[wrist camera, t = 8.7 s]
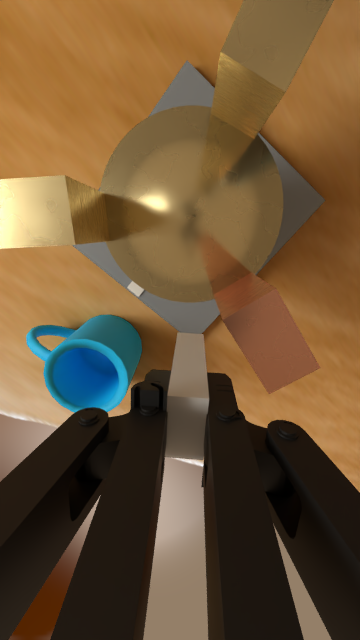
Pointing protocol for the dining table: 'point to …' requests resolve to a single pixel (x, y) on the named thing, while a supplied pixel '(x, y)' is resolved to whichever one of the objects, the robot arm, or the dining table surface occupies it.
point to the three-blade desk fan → (195, 194)
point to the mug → (89, 362)
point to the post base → (296, 211)
